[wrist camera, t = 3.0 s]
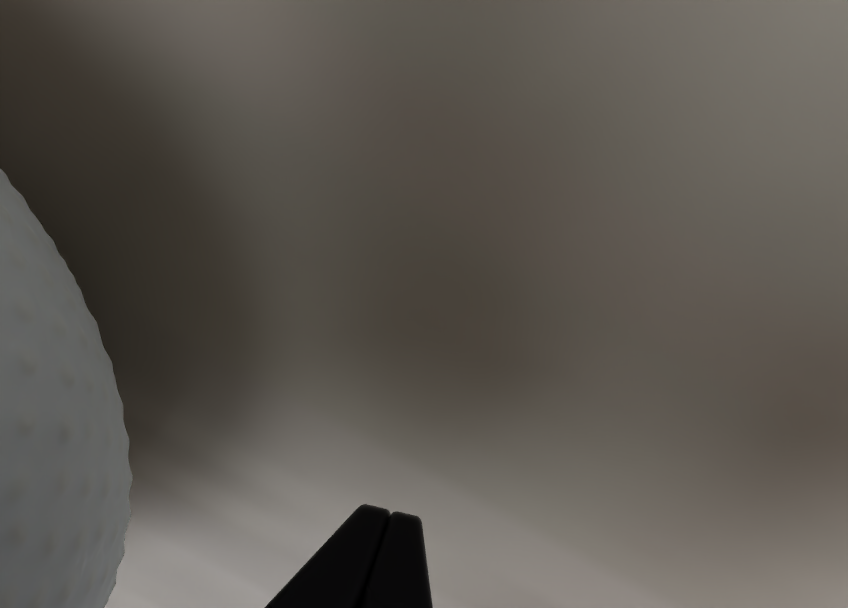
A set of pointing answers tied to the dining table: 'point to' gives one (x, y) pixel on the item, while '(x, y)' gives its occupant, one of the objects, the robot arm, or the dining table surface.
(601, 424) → the dining table surface
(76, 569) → the cereal bowl
